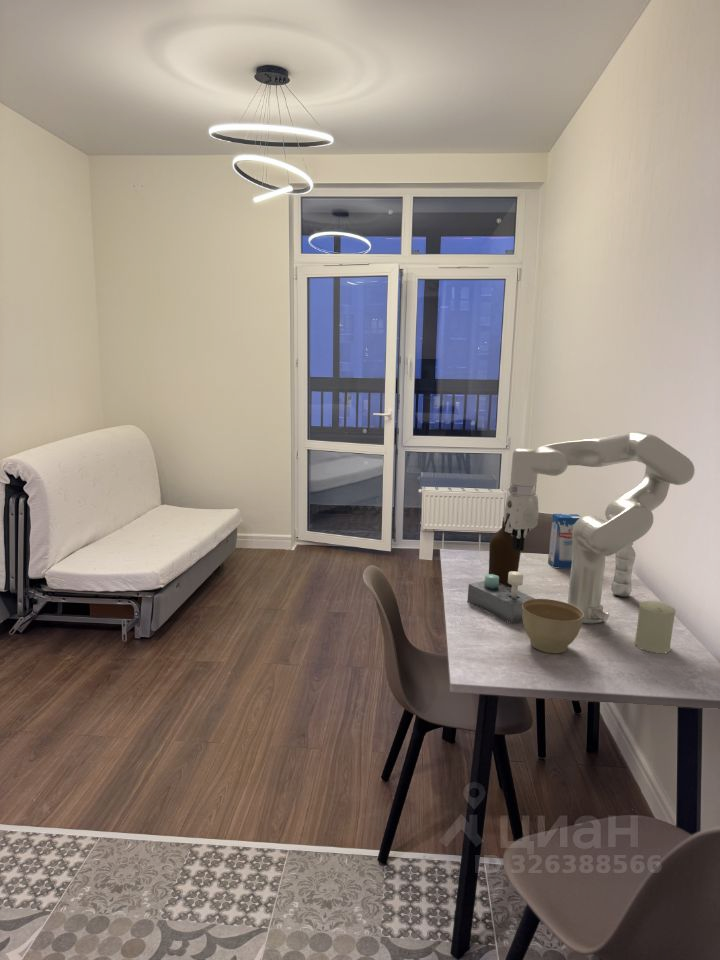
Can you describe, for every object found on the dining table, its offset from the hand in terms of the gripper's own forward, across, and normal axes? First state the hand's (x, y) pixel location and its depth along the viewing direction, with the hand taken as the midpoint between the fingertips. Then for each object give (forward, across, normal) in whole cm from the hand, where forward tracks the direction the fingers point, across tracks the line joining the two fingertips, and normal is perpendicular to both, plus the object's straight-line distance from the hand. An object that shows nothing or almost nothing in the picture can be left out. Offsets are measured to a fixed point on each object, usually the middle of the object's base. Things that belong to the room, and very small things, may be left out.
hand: (517, 549), depth 194 cm
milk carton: (+21, +55, +30) cm, 66 cm away
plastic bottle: (+21, +48, -3) cm, 52 cm away
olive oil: (+21, +15, +20) cm, 33 cm away
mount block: (+21, 0, +5) cm, 21 cm away
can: (+21, +20, -34) cm, 45 cm away
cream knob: (+17, 0, 0) cm, 17 cm away
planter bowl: (+21, -7, -21) cm, 31 cm away
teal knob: (+21, 0, +10) cm, 23 cm away
